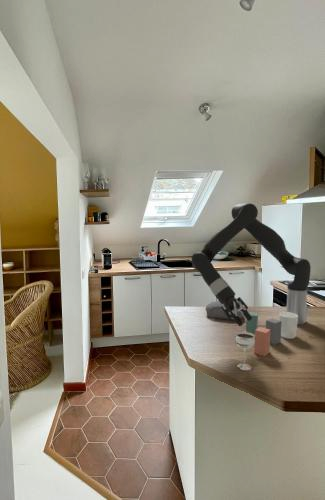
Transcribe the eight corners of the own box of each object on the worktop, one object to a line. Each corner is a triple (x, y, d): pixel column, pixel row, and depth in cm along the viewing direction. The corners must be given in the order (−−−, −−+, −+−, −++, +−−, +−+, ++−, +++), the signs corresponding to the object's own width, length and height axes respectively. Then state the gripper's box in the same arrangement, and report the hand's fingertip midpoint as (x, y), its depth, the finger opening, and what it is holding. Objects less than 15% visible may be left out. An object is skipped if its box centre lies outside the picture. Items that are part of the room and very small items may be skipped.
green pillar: (247, 331, 143) (248, 311, 142) (257, 332, 141) (258, 313, 140) (245, 334, 139) (246, 314, 138) (256, 336, 137) (256, 316, 136)
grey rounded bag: (240, 312, 171) (205, 310, 174) (241, 298, 170) (205, 296, 173) (243, 321, 156) (204, 319, 160) (244, 306, 156) (205, 304, 159)
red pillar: (258, 349, 123) (259, 326, 122) (269, 352, 121) (270, 329, 120) (254, 353, 120) (255, 330, 119) (265, 356, 117) (266, 332, 116)
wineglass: (251, 373, 104) (252, 340, 103) (232, 368, 108) (233, 336, 107) (256, 365, 110) (257, 333, 109) (238, 360, 114) (239, 330, 112)
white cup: (296, 333, 140) (297, 313, 139) (297, 340, 132) (298, 318, 131) (277, 331, 142) (278, 311, 141) (278, 338, 135) (279, 316, 134)
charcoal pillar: (271, 338, 134) (272, 318, 133) (280, 342, 130) (281, 321, 129) (265, 341, 131) (266, 320, 130) (274, 344, 128) (275, 323, 127)
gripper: (219, 288, 122) (245, 322, 116) (235, 282, 133) (259, 313, 127) (207, 299, 126) (232, 332, 120) (224, 292, 137) (247, 322, 131)
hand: (246, 322), depth 124 cm, fingers open, 8 cm apart
